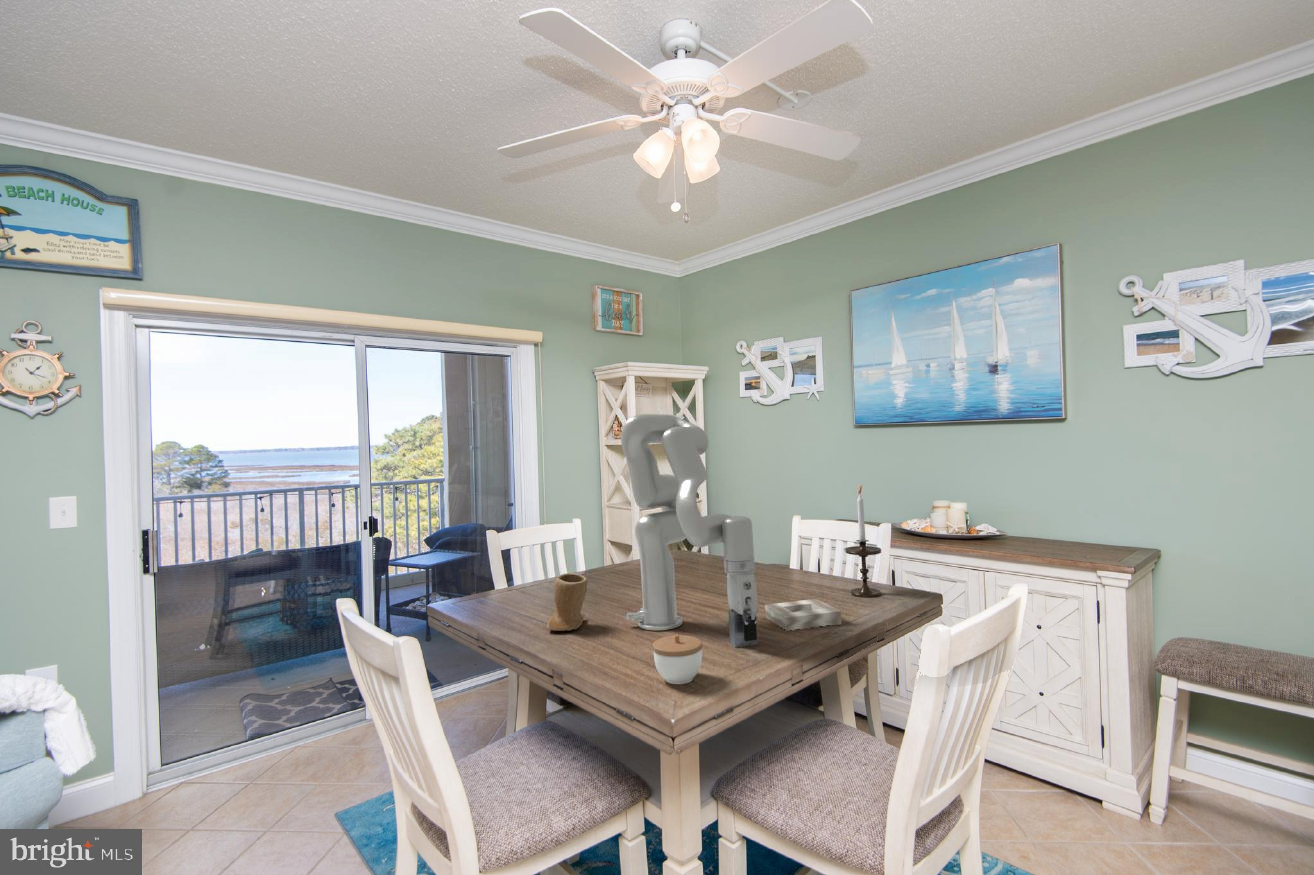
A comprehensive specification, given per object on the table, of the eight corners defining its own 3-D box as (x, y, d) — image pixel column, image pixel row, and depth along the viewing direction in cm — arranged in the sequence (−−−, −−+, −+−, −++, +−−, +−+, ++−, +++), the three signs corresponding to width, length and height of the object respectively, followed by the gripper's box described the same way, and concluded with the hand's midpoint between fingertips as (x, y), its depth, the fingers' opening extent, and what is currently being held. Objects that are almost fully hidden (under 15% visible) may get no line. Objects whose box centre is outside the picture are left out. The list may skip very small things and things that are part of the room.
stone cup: (585, 633, 163) (582, 579, 163) (543, 635, 164) (540, 581, 164) (594, 617, 178) (591, 568, 179) (555, 619, 179) (553, 569, 179)
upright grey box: (734, 647, 145) (733, 615, 146) (730, 643, 149) (728, 611, 149) (757, 644, 147) (755, 612, 147) (752, 640, 150) (750, 608, 150)
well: (786, 631, 156) (785, 617, 156) (765, 617, 169) (765, 604, 169) (841, 624, 159) (840, 611, 159) (816, 610, 173) (815, 598, 173)
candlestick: (880, 589, 193) (873, 483, 194) (886, 598, 182) (879, 485, 183) (845, 589, 195) (839, 484, 196) (850, 598, 184) (843, 486, 185)
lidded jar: (647, 686, 125) (644, 641, 125) (664, 667, 135) (662, 626, 135) (695, 691, 121) (692, 645, 121) (709, 671, 131) (707, 629, 131)
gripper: (767, 571, 141) (771, 643, 140) (741, 558, 157) (744, 623, 157) (737, 574, 139) (741, 647, 139) (714, 561, 156) (718, 626, 155)
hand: (743, 634), depth 148 cm, fingers open, 9 cm apart
